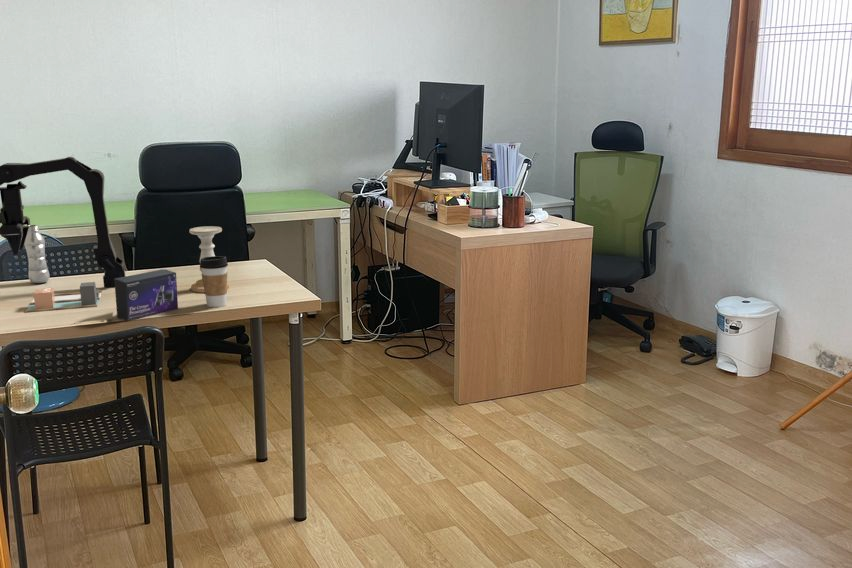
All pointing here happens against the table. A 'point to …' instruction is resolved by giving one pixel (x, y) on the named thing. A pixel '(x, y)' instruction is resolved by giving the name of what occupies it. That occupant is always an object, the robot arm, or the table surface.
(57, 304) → the strip
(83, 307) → the lane rails
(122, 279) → the box
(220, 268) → the coffee cup
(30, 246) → the plastic bottle
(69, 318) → the table surface
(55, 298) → the strip
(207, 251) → the candle holder
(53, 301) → the cube
